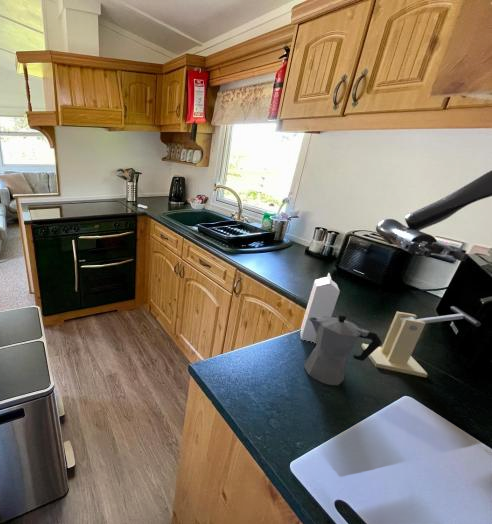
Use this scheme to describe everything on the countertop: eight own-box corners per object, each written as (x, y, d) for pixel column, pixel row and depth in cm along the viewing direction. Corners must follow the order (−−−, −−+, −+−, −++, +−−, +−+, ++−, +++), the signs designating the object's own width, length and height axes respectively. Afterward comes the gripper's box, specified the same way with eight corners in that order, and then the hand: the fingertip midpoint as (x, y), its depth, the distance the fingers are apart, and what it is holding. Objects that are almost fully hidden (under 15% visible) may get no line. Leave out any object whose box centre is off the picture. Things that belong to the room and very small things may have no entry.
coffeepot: (294, 373, 77) (312, 314, 71) (297, 354, 84) (313, 300, 78) (364, 399, 69) (391, 336, 63) (361, 377, 77) (384, 318, 71)
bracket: (406, 355, 88) (425, 312, 82) (426, 377, 78) (449, 331, 73) (361, 346, 91) (377, 304, 85) (375, 366, 81) (394, 321, 76)
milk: (300, 339, 92) (319, 276, 84) (299, 330, 97) (317, 270, 90) (322, 345, 90) (343, 281, 82) (320, 335, 95) (339, 274, 87)
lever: (456, 311, 80) (455, 303, 79) (481, 328, 72) (480, 319, 71) (394, 319, 85) (393, 312, 84) (411, 335, 77) (410, 328, 76)
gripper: (394, 228, 99) (423, 240, 85) (444, 234, 96) (483, 247, 81) (387, 249, 102) (413, 264, 87) (435, 255, 98) (471, 271, 84)
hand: (447, 256), depth 84 cm, fingers open, 8 cm apart
